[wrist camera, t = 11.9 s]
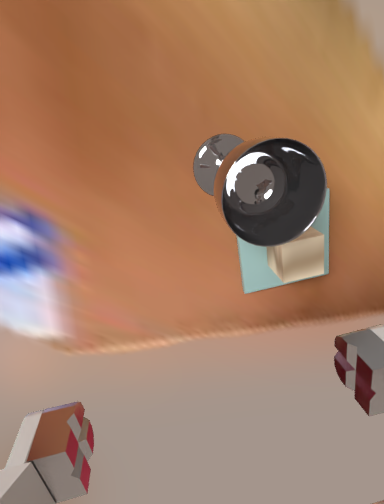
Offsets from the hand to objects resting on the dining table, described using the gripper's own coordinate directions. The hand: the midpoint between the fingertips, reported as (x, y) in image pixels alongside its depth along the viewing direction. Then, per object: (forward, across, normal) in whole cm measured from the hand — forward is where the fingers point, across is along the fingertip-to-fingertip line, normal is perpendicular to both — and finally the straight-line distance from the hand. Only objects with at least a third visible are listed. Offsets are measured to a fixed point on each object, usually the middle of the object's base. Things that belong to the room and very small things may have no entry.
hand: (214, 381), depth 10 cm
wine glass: (+29, -8, -1) cm, 30 cm away
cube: (+28, -14, +10) cm, 33 cm away
